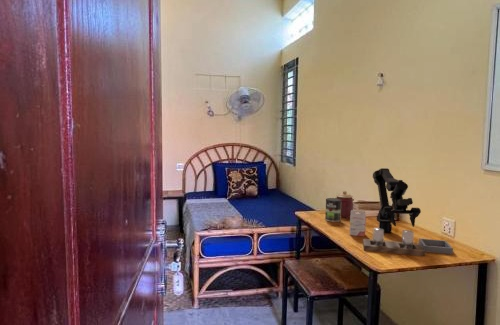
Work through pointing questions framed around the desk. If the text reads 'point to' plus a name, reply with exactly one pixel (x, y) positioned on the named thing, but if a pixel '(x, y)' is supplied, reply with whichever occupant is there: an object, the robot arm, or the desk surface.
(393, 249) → the divided tray
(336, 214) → the coffee can
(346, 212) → the canister
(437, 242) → the tray
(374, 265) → the desk surface
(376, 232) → the block
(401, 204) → the robot arm
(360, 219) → the ink cartridge box
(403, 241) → the loose billet
